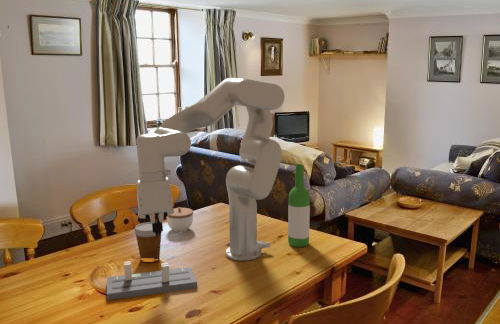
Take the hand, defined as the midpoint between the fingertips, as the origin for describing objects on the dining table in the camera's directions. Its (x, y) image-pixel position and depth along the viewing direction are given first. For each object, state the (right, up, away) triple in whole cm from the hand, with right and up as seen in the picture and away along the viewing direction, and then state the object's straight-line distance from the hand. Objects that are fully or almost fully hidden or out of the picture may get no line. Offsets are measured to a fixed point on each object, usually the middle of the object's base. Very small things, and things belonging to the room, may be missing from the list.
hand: (158, 233), depth 143 cm
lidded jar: (0, -6, +48) cm, 48 cm away
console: (-2, -16, 0) cm, 16 cm away
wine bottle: (+46, -9, +32) cm, 57 cm away
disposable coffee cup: (-7, -12, +19) cm, 24 cm away
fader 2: (+3, -14, -1) cm, 14 cm away
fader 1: (-9, -14, 0) cm, 16 cm away
